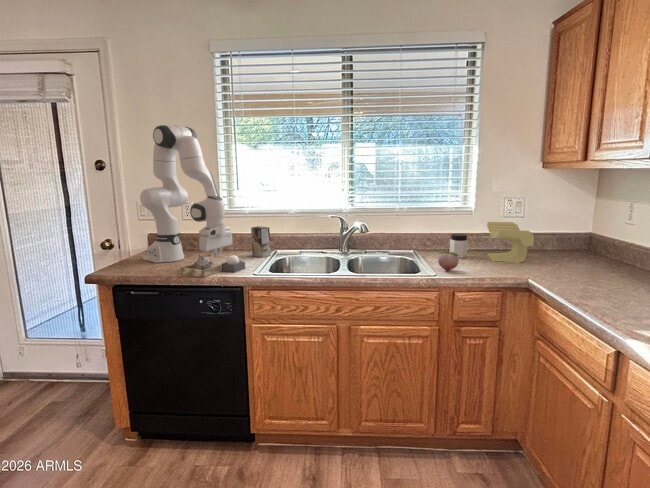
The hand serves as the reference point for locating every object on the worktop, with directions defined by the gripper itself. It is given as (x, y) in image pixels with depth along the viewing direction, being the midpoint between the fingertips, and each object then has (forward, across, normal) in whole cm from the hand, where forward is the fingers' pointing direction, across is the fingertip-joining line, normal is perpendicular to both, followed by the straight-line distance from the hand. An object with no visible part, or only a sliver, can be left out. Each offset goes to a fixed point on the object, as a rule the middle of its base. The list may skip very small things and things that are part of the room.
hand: (217, 256), depth 193 cm
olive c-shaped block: (+2, -75, +129) cm, 149 cm away
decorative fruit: (+3, -39, +105) cm, 112 cm away
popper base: (+5, +1, +11) cm, 12 cm away
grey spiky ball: (+5, +10, +1) cm, 11 cm away
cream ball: (+5, +1, +11) cm, 12 cm away
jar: (+3, -72, +105) cm, 128 cm away
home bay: (+5, +12, +1) cm, 13 cm away
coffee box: (+5, -30, +5) cm, 31 cm away
